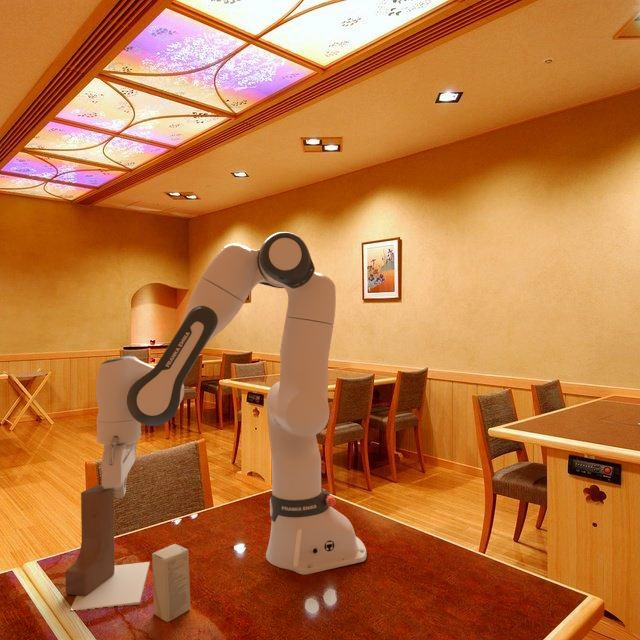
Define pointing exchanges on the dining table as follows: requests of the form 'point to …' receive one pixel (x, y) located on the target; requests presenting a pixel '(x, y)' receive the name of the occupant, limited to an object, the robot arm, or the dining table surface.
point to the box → (171, 582)
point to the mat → (116, 588)
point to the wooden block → (93, 543)
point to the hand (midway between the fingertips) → (120, 496)
